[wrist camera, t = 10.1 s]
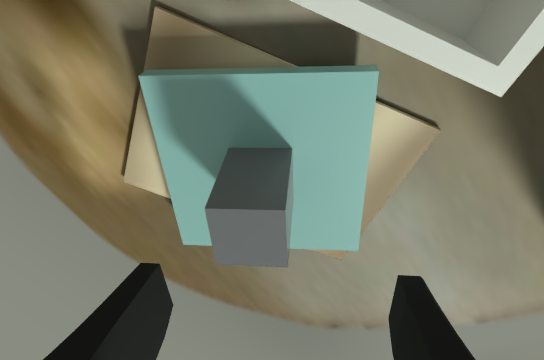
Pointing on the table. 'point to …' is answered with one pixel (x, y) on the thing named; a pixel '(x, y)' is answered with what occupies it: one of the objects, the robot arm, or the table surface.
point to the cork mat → (234, 54)
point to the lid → (264, 156)
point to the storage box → (450, 33)
